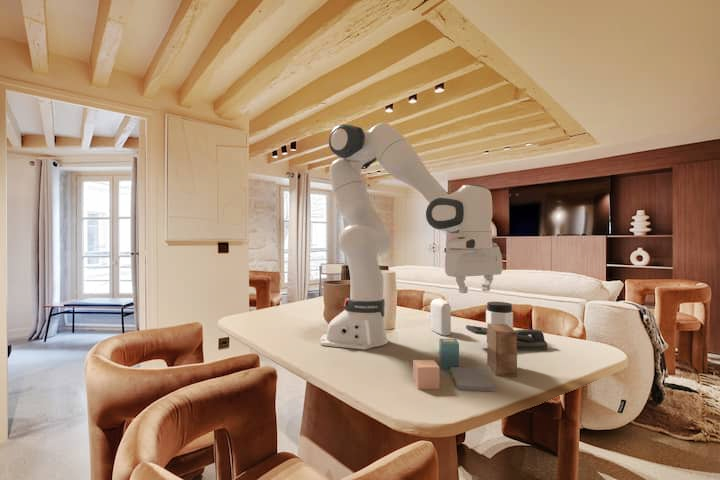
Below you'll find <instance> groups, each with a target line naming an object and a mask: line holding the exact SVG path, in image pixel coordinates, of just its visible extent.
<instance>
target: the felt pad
mask: <svg viewBox="0 0 720 480" xmlns="http://www.w3.org/2000/svg"><path fill="white" fill-rule="evenodd" d="M449 371H450V374H451V376H452V378H453V381H454V384H455V386H456V388H457V390H464V391H481V392H482V391H483V392H495V385H494V384H493V382H492V381H491V379H490V378H489V377H488V375H487V373H486V371H485V370H484V369H483V368H482V367H465V366H463V367H462V366H459V367H450V370H449Z"/></svg>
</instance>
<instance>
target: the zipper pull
mask: <svg viewBox="0 0 720 480" xmlns="http://www.w3.org/2000/svg"><path fill="white" fill-rule="evenodd" d="M465 329H466V330H468V331H469V332H471V333H473V334H476V335H483V336H486V335H487V328H486V327H482V326H475V325H468V324H467V325H466V326H465ZM515 331H516V332H517V352H518V351H519V352H521V351H522V352H523V351H524V352H525V351H526V352H534V351H535V352H543V351H547V350H548V342H547V341H546V340H545V335H544V332H543V331H541V330H538V329H516V330H515Z"/></svg>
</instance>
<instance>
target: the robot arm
mask: <svg viewBox="0 0 720 480" xmlns="http://www.w3.org/2000/svg"><path fill="white" fill-rule="evenodd" d="M411 144H412V143H410V142H409V140H408V139H407V138H406V137H405V136H404V135H403V134H402V133H401V132H400V131H399V130H397V129H396V127H394V126H393V125H391V124H390V123H387V122H380V123H376V124H375V125H373V127H371V128H370V129H369V130H366V129H363V128H362V127H361V126H360V127H359V126H356V125H353V124H352V125H351V124H340V125H336V126H335V127H334V128H333V129H332V130H331V132H330V134H329V136H328V146H329V149H330V151H331V152H332V153H333V154H334V155H336V156H337V157H338V158H337V159H336V160H334V161H333V162H332V163H330V165H329V177H330V183H331V187H332V191H333V194H334V197H335V200H336V204H337V206H338V209H339V212H340V214H341V216H342V217H343V219H345V221H346V222H347V223H348V225H347V227H345V228H344V229H342V230H341V232H340V234H339V237H338V246H339V249H340V250H341V252H342V253H343V254H344V257H345V259H346V262H347V266H348V270H349V272H348V273H349V278H350V279H349V280H350V281H349V282H350V288H349V289H350V291H349V293H350V294H349V295H350V298H349V297H347V298H345V300H344V303H343V308H344V310H343V311H342V312H341V311H340V313H339V314H337V315H336V316H334V318H332V319H331V321H330V322H329V323H328V326H327V331H326V333H324V334H322V335H321V337H320V339H319V344H320V345H322V346H325V347H336V348H345V349H357V350H369V349H372V348H377V347H382V346H385V345H386V344H388V342H389V340H388V336H387V333H386V327H385V314H386V301H385V299H384V274H383V273H382V271H381V269H380V265H379V261H378V257H382V256H384V255H385V254H387V253H388V252H390V250H391V248H392V246H393V236H392V234H391V233H390V231H389V230H388V229H387V228H386V226H385V225H384V223H383V221H382V219H381V217H380V216H379V214H378V213H377V210H376V209H375V207H374V205H373V203H372V201H371V197H370V195H369V193H368V190H367V186H366V184H365V182H364V179H363V176H362V175H363V174H362V170H366V169H368V168H369V167H370V166H371V165H372V164H374V163H375V162H376V161H378V162H379V164H380V166H381V167H382V168H383V169H384V170H385V171H386V173H388V174H389V175H391V176H392V177H393V178H394V179H396V180H398V181H400V182H402V183H404V184H407V185H408V186H410V187H412V188H414V189H415V190H416V191H418V192H419V193H420V194H421V195H422V197H424V199H425V200H426V201H427V203H429V204H428V205H427V207H426V210H425V219H426V222H427V223H428V224H429V226H431V227H432V228H433V229H435V230H439V231H442V232H447V233H451V234H459V235H457V236H455V237H453V238H451V239H448V240H447V241H445V248H446V249H447V250H446V252H445V257H444V259H445V260H444V273H445V274H446V276H447V277H452V278H453V277H454V278H455V281H456V284H457V286H458V292H459V294H467V293H469V291H468V289H469V287H468V286H466V283H465V281H466V277H478V276H479V277H480V276H483V279H484V282H483V284H482V283H481V291H482V292H490V290H491V284H492V283H493V280H494V276H497V275H498V276H499V275H501V274H502V272H503V259H502V258H503V257H502V252H501V249H500V246H499V245H498V244H497V243H496V242H493V228H492V219H493V198H492V193H491V191H490V190H489V188H488V187H486V186H483V185H479V184H472V183H471V184H469V183H466V184H463V185H462V186H460V188H458V189H457V190H455V191H454V192H452V193H448V192H447V191H446V190H445V188H443V187H442V185H441V184H440V183H439V182H438V181H437V180H436V179H435V177H434V176H433V175H432V174H431V172H430V171H429V170H428V168H427V167H426V165H425V164H424V162H423V161H422V159H421V157H420V156H419V154H418V153H417V151H416V150H415V148H414V147H413V146H412V145H411Z"/></svg>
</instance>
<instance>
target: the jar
mask: <svg viewBox="0 0 720 480" xmlns="http://www.w3.org/2000/svg"><path fill="white" fill-rule="evenodd" d="M486 306H487V307H486V309H485V328H488V324H507V325H508V326H509V327H511V328H512V329H513V330H514V312H513V307H512V306H513V305H512V303H510V302H506V301H505V302H504V301H488V302H487V303H486ZM485 336H486V337H487V335H485Z"/></svg>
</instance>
